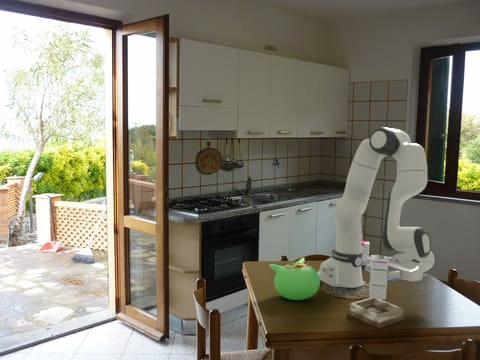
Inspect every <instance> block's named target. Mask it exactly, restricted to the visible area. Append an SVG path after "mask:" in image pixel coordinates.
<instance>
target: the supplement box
mask: <svg viewBox="0 0 480 360" xmlns="http://www.w3.org/2000/svg"><path fill="white" fill-rule="evenodd" d="M361 252H362V262H361V267H366V258H367V257H370V241H367V240H362V250H361Z"/></svg>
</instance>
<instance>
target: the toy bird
mask: <svg viewBox="0 0 480 360" xmlns="http://www.w3.org/2000/svg"><path fill="white" fill-rule="evenodd" d="M305 260H306V259H305V257H301V258H300V259H298V261H296V262H295V263H294V262H293V263H289V264H285V265H284V266H282V265H278V264H273V263H271V264H269V265H268V266H269V268H270V269H272V271H274V272H275V273H276V274H275V276H274V279H273V280H274V282H273V283H274V284H273V285H274V287H275V290H276V291H277V293H278V294H279V295H280V296H282V297H283V298H285V299H287V300H293V301H302V300H306V299H307V300H308V299H309V298H312V297H313V296H314V295H316V293H317V292H318V290H319V288H320V284H321V280H320V279H319V275H318V273H317V272H318V271H317V270H316V269H314V268H313V267H312V266H310V265H308V264H305Z"/></svg>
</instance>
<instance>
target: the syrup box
mask: <svg viewBox="0 0 480 360" xmlns="http://www.w3.org/2000/svg"><path fill="white" fill-rule="evenodd" d="M370 257H371V262H370V270H369V284H368V295H369V298H373V299H380V300H383V301H385V300H387V286H388V277H387V271H388V259H389V258H388V256H386V255H383V254H382V255H381V254H370ZM387 258H388V259H387Z"/></svg>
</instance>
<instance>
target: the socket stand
mask: <svg viewBox="0 0 480 360" xmlns="http://www.w3.org/2000/svg"><path fill="white" fill-rule="evenodd" d="M403 312H404V308H403V307H400V306H398V305H395V304H393V303H390V302H388V301H385V300H382V299H373V298H370V297H369V298H365V299H362V300H359V301H354V302H352V303H349V309H347V315H349V316H351V317H353V318H355V319H357V320H360V321H361V322H364V323H366V324H369V325H371V326H373V327H375V328H378V329H381V328H384V327H387V326H390V325H393V324H397V323H398V322H401V321H403V320H405V317H406V316H405V315H404V313H403Z"/></svg>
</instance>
